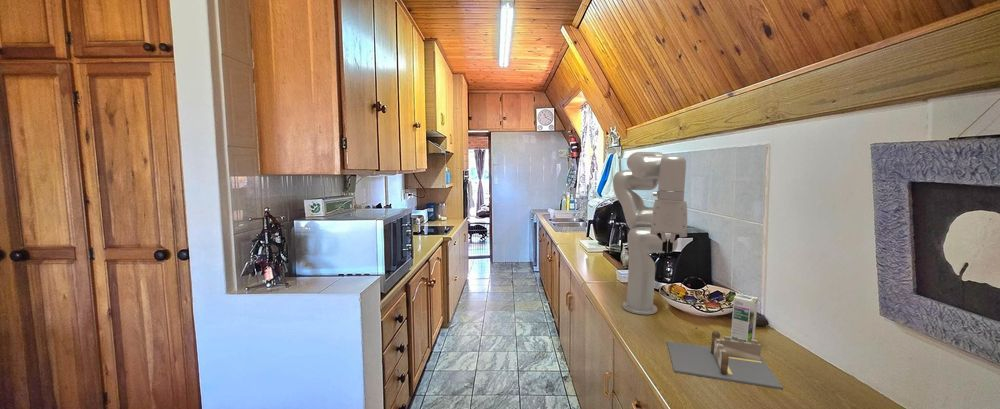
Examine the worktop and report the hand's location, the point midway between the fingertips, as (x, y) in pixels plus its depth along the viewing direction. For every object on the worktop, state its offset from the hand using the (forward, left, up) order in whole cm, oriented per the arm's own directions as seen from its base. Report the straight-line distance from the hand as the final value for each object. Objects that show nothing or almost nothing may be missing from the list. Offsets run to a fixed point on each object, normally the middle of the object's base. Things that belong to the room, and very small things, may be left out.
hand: (667, 253), depth 124 cm
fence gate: (+16, +13, -26) cm, 33 cm away
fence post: (+9, +19, -27) cm, 34 cm away
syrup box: (-4, +24, -27) cm, 37 cm away
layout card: (+14, +14, -27) cm, 33 cm away
